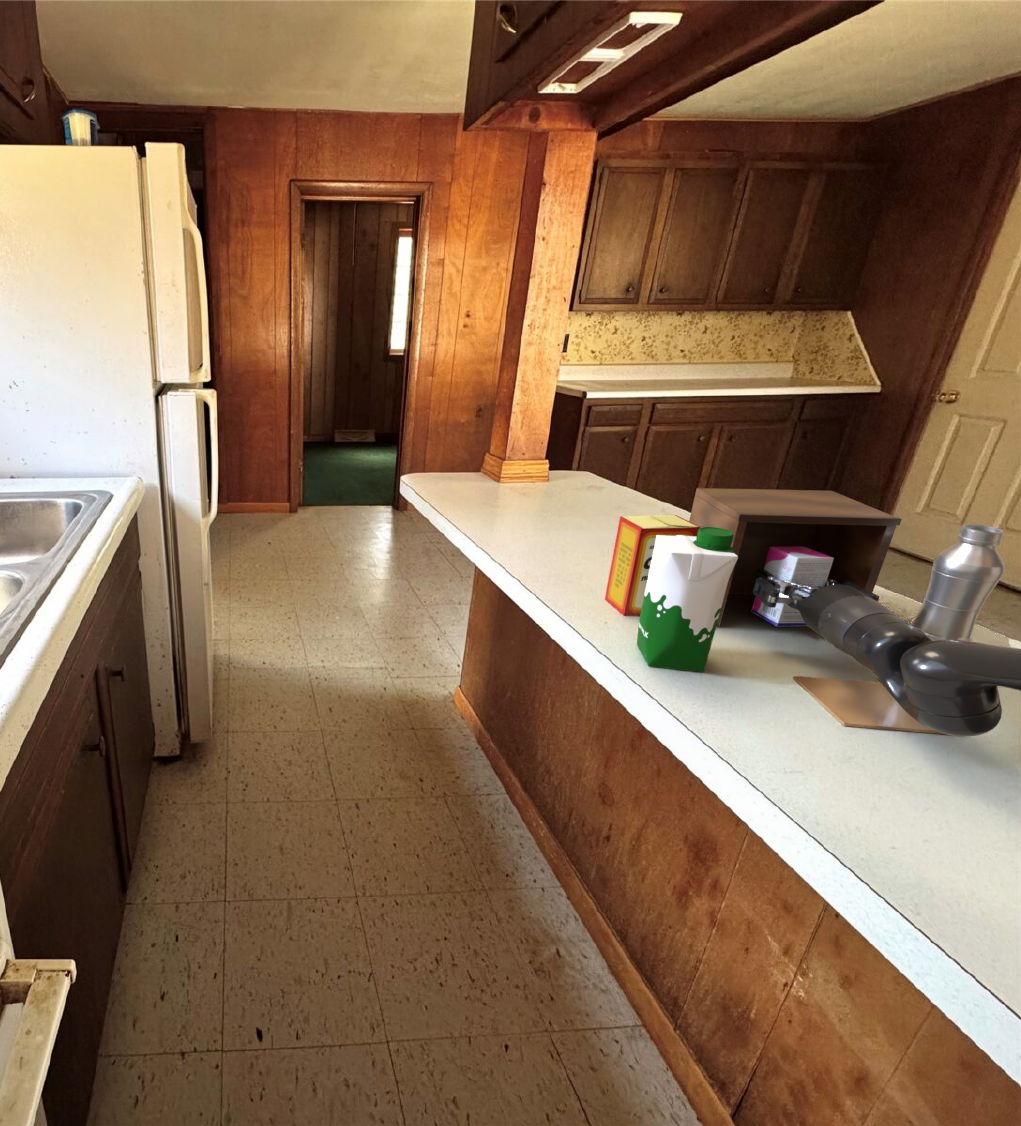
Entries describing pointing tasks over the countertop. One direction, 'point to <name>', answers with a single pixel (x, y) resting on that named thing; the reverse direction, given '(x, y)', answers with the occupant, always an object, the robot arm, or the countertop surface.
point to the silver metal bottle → (961, 584)
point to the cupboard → (796, 531)
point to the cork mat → (861, 704)
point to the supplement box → (796, 567)
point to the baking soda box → (638, 557)
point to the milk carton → (684, 598)
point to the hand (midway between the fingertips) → (784, 575)
